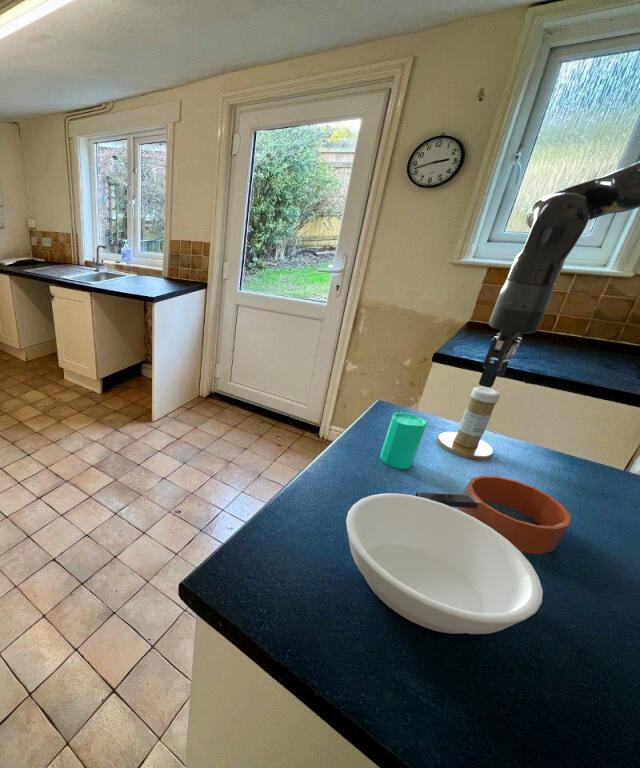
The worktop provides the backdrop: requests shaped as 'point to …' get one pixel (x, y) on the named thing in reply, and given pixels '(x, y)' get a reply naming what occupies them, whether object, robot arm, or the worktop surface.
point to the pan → (518, 498)
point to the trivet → (476, 453)
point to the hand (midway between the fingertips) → (490, 380)
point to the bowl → (441, 565)
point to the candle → (402, 440)
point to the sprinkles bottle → (476, 416)
